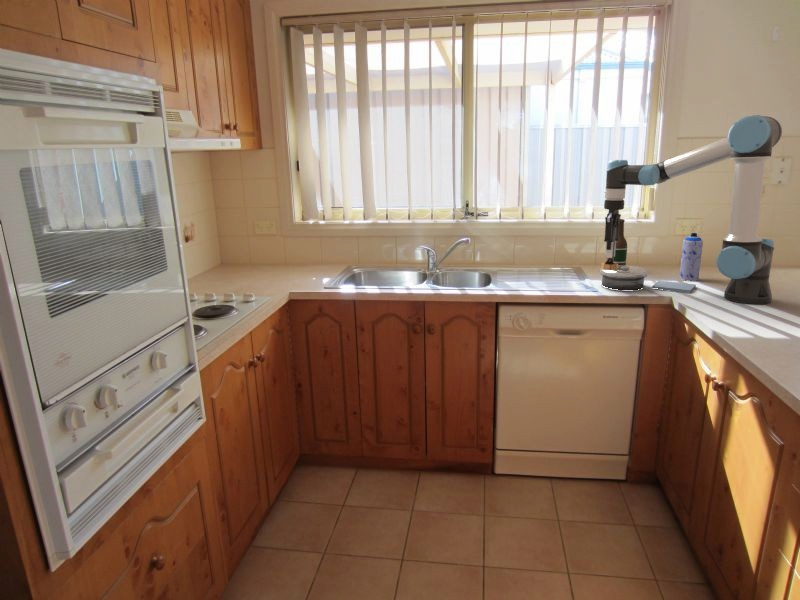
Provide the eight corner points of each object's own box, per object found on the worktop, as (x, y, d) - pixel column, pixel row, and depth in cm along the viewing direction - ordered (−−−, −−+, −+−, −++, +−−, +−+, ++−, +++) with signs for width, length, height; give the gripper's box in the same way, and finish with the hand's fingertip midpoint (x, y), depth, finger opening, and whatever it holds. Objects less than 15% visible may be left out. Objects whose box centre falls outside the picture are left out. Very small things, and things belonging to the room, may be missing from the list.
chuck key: (613, 265, 233) (617, 226, 228) (611, 266, 230) (615, 227, 226) (606, 264, 234) (609, 226, 230) (604, 265, 232) (607, 227, 228)
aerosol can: (702, 281, 238) (708, 234, 233) (683, 281, 238) (689, 234, 233) (693, 277, 246) (698, 231, 241) (675, 277, 246) (680, 231, 241)
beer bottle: (607, 272, 259) (611, 220, 253) (607, 268, 266) (610, 218, 260) (625, 272, 257) (630, 220, 251) (624, 269, 264) (628, 218, 258)
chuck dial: (651, 272, 232) (652, 263, 231) (640, 280, 217) (641, 270, 216) (607, 268, 242) (608, 259, 241) (594, 275, 228) (594, 266, 227)
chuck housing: (647, 285, 233) (648, 273, 231) (637, 293, 220) (638, 280, 219) (608, 280, 242) (609, 269, 241) (596, 288, 229) (597, 276, 228)
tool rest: (695, 287, 228) (695, 284, 227) (690, 293, 218) (690, 290, 218) (658, 283, 236) (658, 280, 235) (651, 288, 226) (652, 286, 226)
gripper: (610, 197, 234) (606, 253, 240) (599, 200, 221) (594, 259, 227) (629, 198, 229) (624, 254, 235) (618, 201, 217) (613, 260, 223)
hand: (609, 256), depth 231 cm, fingers closed on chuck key, 3 cm apart
